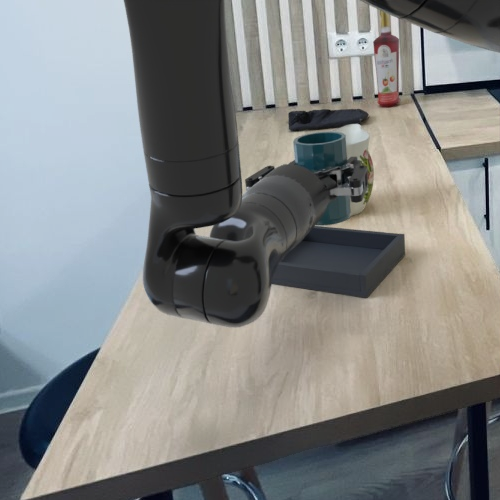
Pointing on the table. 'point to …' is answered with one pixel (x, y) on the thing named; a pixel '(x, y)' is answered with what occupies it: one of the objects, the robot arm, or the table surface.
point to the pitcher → (359, 158)
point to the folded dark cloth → (324, 118)
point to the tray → (341, 261)
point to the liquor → (387, 64)
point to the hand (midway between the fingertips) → (327, 164)
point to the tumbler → (323, 155)
